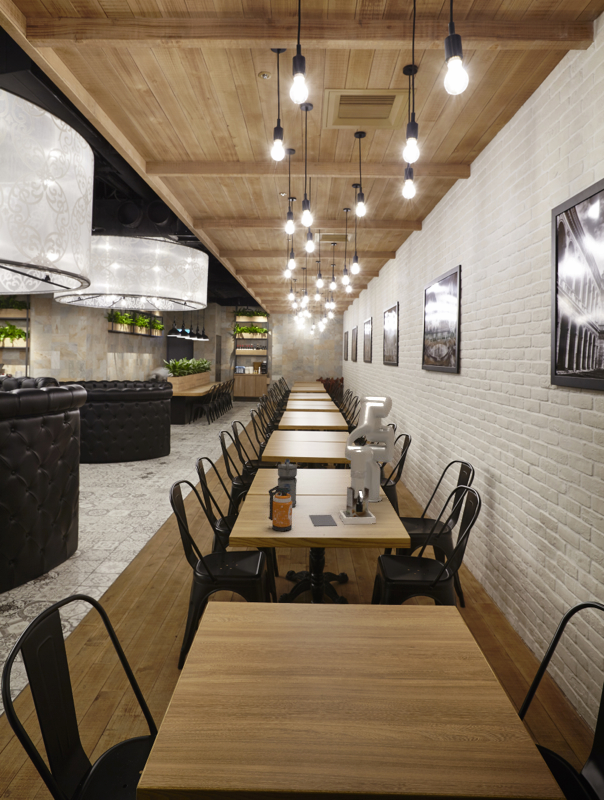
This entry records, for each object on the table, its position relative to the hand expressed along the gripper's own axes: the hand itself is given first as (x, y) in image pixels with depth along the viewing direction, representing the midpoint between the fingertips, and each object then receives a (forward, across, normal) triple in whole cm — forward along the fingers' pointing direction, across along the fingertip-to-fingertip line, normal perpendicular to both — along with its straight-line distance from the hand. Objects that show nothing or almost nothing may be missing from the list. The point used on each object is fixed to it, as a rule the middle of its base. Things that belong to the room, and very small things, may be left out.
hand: (357, 509), depth 248 cm
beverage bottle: (+6, -27, -32) cm, 42 cm away
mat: (+5, 0, -17) cm, 18 cm away
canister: (+6, +10, -39) cm, 41 cm away
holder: (+5, 0, 0) cm, 5 cm away
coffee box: (+6, 0, 0) cm, 6 cm away
